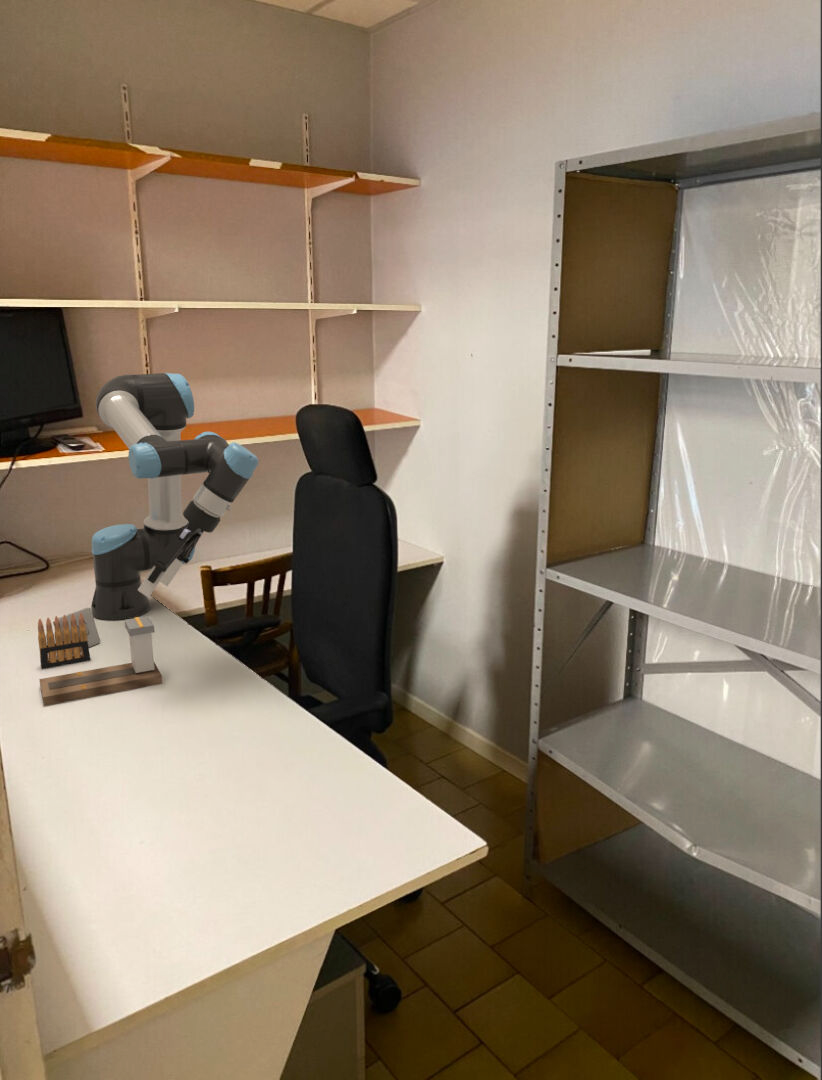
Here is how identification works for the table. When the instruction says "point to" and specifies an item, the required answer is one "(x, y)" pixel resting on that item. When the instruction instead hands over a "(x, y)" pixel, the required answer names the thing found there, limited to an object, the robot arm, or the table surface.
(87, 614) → the electrical switch
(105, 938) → the table surface
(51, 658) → the ammunition clip
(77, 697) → the fader console
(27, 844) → the table surface
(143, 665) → the fader tab
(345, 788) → the table surface
